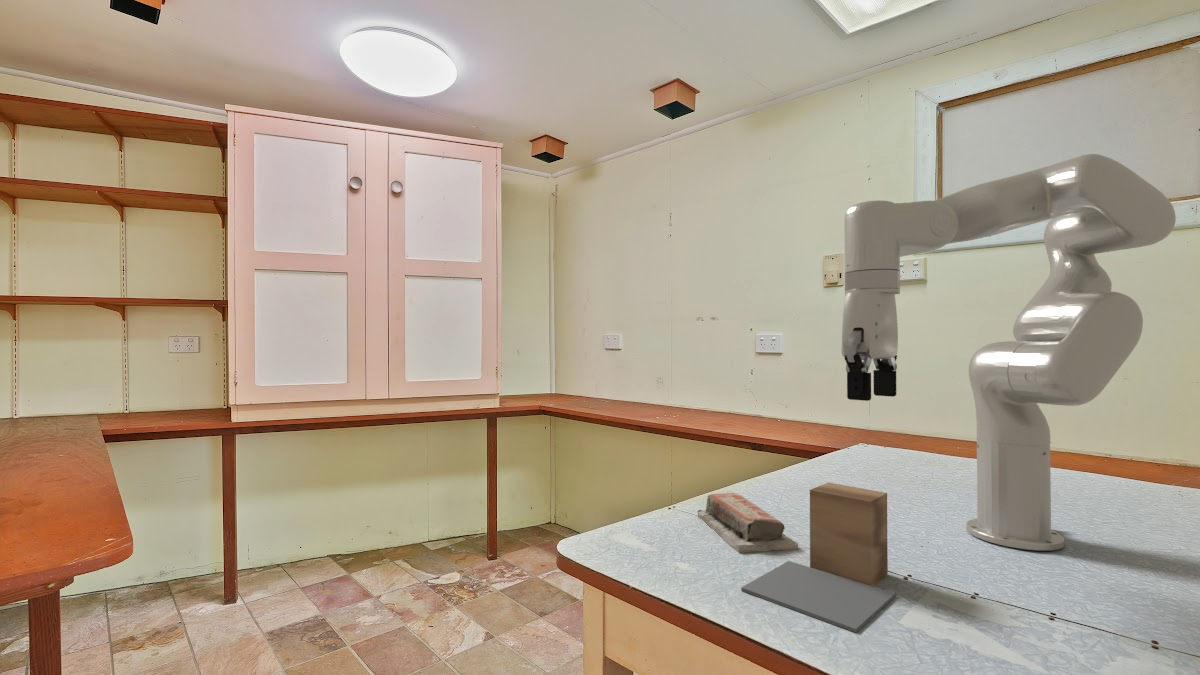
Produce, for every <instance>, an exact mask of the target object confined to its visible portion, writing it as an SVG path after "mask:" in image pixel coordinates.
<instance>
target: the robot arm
mask: <svg viewBox="0 0 1200 675" xmlns="http://www.w3.org/2000/svg"><path fill="white" fill-rule="evenodd" d="M1173 206H1174V205H1173V204H1172V202H1171V201H1170V199H1168V197H1167V196H1166V195H1165V194H1164V193H1163V192H1162V191H1161V190H1159V189H1158V188H1156V187H1155V186H1153V185H1152V184H1151V183H1149V182H1148V181H1147V180H1146V179H1144V178H1143V177H1141V176H1140V175H1138V174H1137V173H1136V172H1134V171H1133V170H1131V168H1128V167H1127V166H1126V165H1123V164H1122V163H1121V162H1119V161H1116V160H1114V159H1112V158H1110V157H1108V156H1106V155H1105V156H1104V155H1101V154H1098V153H1097V154H1095V153H1091V154H1090V153H1087V154H1084V155H1080V156H1077V157H1073V158H1071V159H1067V160H1063V161H1061V162H1057V163H1054V164H1051V165H1046V166H1044V167H1041V168H1036V169H1033V170H1030V171H1027V172H1022V173H1018V174H1015V175H1011V176H1007V177H1004V178H1001V179H995V180H991V181H987V182H983V183H979V184H976V185H974V186H970V187H966V188H964V189H961V190H959V191H956V192H954V193H951V194H949V195H946V196H943V197H941V198H937V199H935V200H920V201H918V200H917V201H913V202H912V201H911V202H893V201H888V200H869V201H868V200H867V201H862V202H859V203H856V204H853V205H851V206H850V207H849V208H848V207H847V209H846V211H845V214H844V221H843V223H844V226H843V227H844V229H843V230H844V296H845V297H844V298H845V299H844V304H843V313H842V323H841V324H842V327H841V354H842V357H843V358H844V361H845V363H846V365H845V371H846V389H847V390H846V397H847V399H848V400H852V401H853V400H854V401H862V402H863V401H865V402H868V401H871V399H872V372H869V370H870V367H871V363H872V361H873V363H874V367H875V369H874V370H873V395H874V396H879V397H896V396H897V370H898V365H897V359H898V355H897V354H898V347H899V346H898V345H899V342H898V341H899V335H898V334H899V331H898V330H899V329H898V313H897V302H896V295H900V294H901V272H900V271H901V267H900V266H901V265H900V264H901V263H900V261H901V257H906V256H913V255H917V254H922V253H927V252H932V251H935V250H938V249H940V248H942V247H945V246H946V245H949V244H954V243H955V244H957V243H963V242H970V241H974V240H978V239H982V238H987V237H992V236H995V235H998V234H1003V233H1005V232H1008V231H1012V230H1015V229H1016V230H1017V229H1019V228H1022V227H1026V226H1030V225H1034V224H1037V223H1040V222H1044V221H1048V220H1049V221H1048V222H1047V224H1046V226H1045V229H1044V233H1043V243H1044V246H1045V250H1046V255H1047V257H1048V258H1047V259H1048V262H1049V270H1050V271H1049V275H1048V277H1047V279H1046V280H1045V281H1044V283H1043V284H1042V285H1041V286H1040V288H1039V289H1038V290H1037V292H1036V293H1035V294H1034V295H1033V296H1032V298H1030V300H1029V301H1028V302H1027V304H1026V305H1025V306H1024V307H1023V308H1022V310H1021V311H1020V313H1019V314H1018V315H1017V318H1016V319H1015V322H1014V324H1013V328H1012V333H1013V336H1014V339H1015V340H1014V341H1013V340H1012V341H1007V340H1006V341H997V342H993V343H988V344H986V345H984V346H982V347H980V348H978V349H977V350H976V351H975V352H974V354H973V355H972V356H971V359H970V360H969V364H968V376H969V382H970V386H971V389H972V391H971V392H972V393H973V400H974V404H975V405H974V406H975V416H976V490H977V491H976V493H977V494H976V495H977V496H976V500H977V502H976V503H977V504H976V507H977V511H976V512H977V513H976V514H977V518H972V519H970V520H968V521H966V524H965V526H966V528H965V529H966V531H967V532H968V533H969V534H970V535H971V536H973V537H975V538H978V539H980V540H983V541H986V542H988V543H993V544H995V545H999V546H1004V547H1008V548H1013V549H1021V550H1026V551H1039V552H1040V551H1043V552H1045V551H1047V552H1048V551H1058V550H1061V549H1063V548H1064V547H1065V538H1064V537H1063V536H1062V535H1061V534H1060V533H1059V532H1057V531H1054V530H1052V515H1051V514H1052V503H1051V501H1052V499H1051V496H1052V494H1051V492H1052V490H1051V430H1050V426H1049V422H1048V421H1047V418H1046V416H1045V414H1044V413H1043V411H1042V410H1041V408H1040V406H1039V405H1038V404H1041V405H1042V404H1043V405H1044V404H1045V405H1054V406H1064V407H1065V406H1068V407H1071V406H1072V407H1073V406H1076V407H1077V406H1081V405H1085V404H1088V403H1089V402H1091V401H1093V400H1094V399H1095V398H1097V397H1098V396H1099V395H1100V394H1101V392H1102V391H1103V390H1104V389H1105V388H1106V387H1107V385H1108V384H1109V383H1110V382H1111V380H1112V379H1113V378H1114V376H1115V375H1116V374H1117V372H1118V371H1119V370H1120V368H1121V367H1122V365H1124V363H1125V362H1126V360H1127V359H1128V358H1129V356H1130V355H1131V354H1132V352H1133V351H1134V349H1135V348H1136V346H1137V345H1138V342H1139V341H1140V338H1141V336H1142V332H1143V322H1144V321H1143V313H1142V311H1141V308H1140V305H1139V304H1138V303H1137V302H1136V301H1135V300H1134V299H1133V298H1131V297H1130V296H1129V295H1126V294H1125V293H1121V292H1117V291H1112V287H1113V284H1112V281H1111V277H1110V276H1109V274H1108V273H1107V272H1106V271H1105V269H1104V268H1103V267H1102V266H1101V265H1100V264H1099V262H1098V260H1097V258H1096V255H1097V254H1102V253H1109V252H1116V251H1121V250H1123V251H1124V250H1131V249H1135V248H1142V247H1148V246H1152V245H1154V244H1158V243H1159V242H1161V241H1163V240H1165V239H1166V238H1167V237H1168V236H1169V235H1170V234H1171V233H1172V231H1173V230H1174V228H1175V224H1176V221H1177V219H1176V218H1177V217H1176V212H1175V209H1174V207H1173ZM1095 254H1096V255H1095Z"/></svg>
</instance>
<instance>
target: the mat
mask: <svg viewBox="0 0 1200 675" xmlns="http://www.w3.org/2000/svg"><path fill="white" fill-rule="evenodd" d="M740 589H741V591H742V592H744V593H746V594H749V595H752V596H755V597H758V598H760V599H763V600H766V601H769V602H771V603H774V604H777V605H779V606H782V607H785V608H787V609H791V610H793V611H796V612H799V613H802V614H804V615H807V616H809V617H812V618H815V619H818V620H819V621H820V620H821V621H822V622H823V621H824V622H826V623H828V624H831V625H834V626H836V627H840V628H841V629H842V628H843V629H845V630H847V631H850V632H853V633H857V632H858V631H860V630H861V629H862V628H863V627H864V626H865V625H866V624H867V623H868V622H870V620H872V619H873V617H875V616H876V615H877V614H878V613H880V611H881V610H882V609H884V608H885V607H886V606H887V605H888V604H889V603H890V602H891V601H893V599H895V598H896V595H897V594H896V592H893V591H891V590H890V591H889V590H887V589H884V588H883V589H882V588H880V587H876V586H875V585H874V586H870V585H867V584H864V583H860V582H857V581H854V580H851V579H847V578H844V577H841V576H837V575H834V574H831V573H827V572H824V571H821V570H817V569H814V568H811V567H810V566H808V565H807V566H806V565H803V564H800V563H798V562H793V561H791V560H788V561H786V562H784V563H782V564H781V565H779V566H777V567H775V568H774V569H772V570H770V571H768V572H767V573H764V574H762V575H761V576H759V577H757V578H756V579H754V580H752V581H750V582H749V583H746V584H745V585H743V586H742V587H741V588H740Z"/></svg>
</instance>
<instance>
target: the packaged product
mask: <svg viewBox="0 0 1200 675" xmlns="http://www.w3.org/2000/svg"><path fill="white" fill-rule="evenodd" d="M705 508H706V509H705V510H703V509H699V510H697V518H699V520H701V519H702V520H703V521H704V522H705V523H706V524H707V525H708V526H709V527H710V528H711V529H713V530H714V531H715V532H716V533H717V534H718V535H719V536H720V537H721V538H722V539H723V540H722V539H721V538H720V537H719V536H718V535H717V534H716V533H715V532H714V531H713V532H714V533H715V534H716V535H717V536H718V537H719V538H720V539H721V540H722V541H724V542H725V543H726V544H727V545H728V544H729V545H728V546H730V547H731V548H732V549H733V550H734V551H735V552H737V553H753V552H752V551H758V552H767V551H766V550H771V552H772V550H774V551H781V550H782V551H785V550H786V551H787V550H797V549H798V548H799V543H798V542H796V541H794V540H793V539H792V538H791V537H789V536H787V535H786V534H784V530H785V529H786V528H785V524H784V523H783V522H782V521H780V520H779V519H777V518H776V517H774V516H773V515H771V514H770V513H768V512H767V511H765V510H763V509H762V508H761V507H759V506H758V505H757V504H755V503H753V502H752V501H750V500H749V499H748V498H746V497H745V496H743V495H740V494H738V493H735V492H727V493H711V494H708V495H707V498H706V506H705ZM702 520H701V521H702ZM703 521H702V522H703ZM704 522H703V523H704ZM705 523H704V524H705ZM706 524H705V525H706ZM707 525H706V526H707ZM708 526H707V527H708ZM709 527H708V528H709ZM710 528H709V529H710ZM711 529H710V530H711ZM764 550H765V551H764Z"/></svg>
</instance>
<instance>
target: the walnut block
mask: <svg viewBox="0 0 1200 675" xmlns="http://www.w3.org/2000/svg"><path fill="white" fill-rule="evenodd" d="M888 560H889V559H888V493H887V492H883V491H878V490H871V489H868V488H860V487H855V486H850V485H844V484H839V483H834V482H826V483H823V484H821V485H819V486H815V487H812V488H811V489H809V567H811V568H814V569H817V570H821V571H824V572H827V573H831V574H834V575H837V576H841V577H844V578H847V579H851V580H854V581H857V582H860V583H864V584H867V585H870V586H874V587H875V585H877V584H878V583H879V582H881V581H882V580H883V579H885V578H886V576H888V575H889V574H888V569H889V568H888V563H889V562H888Z"/></svg>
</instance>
